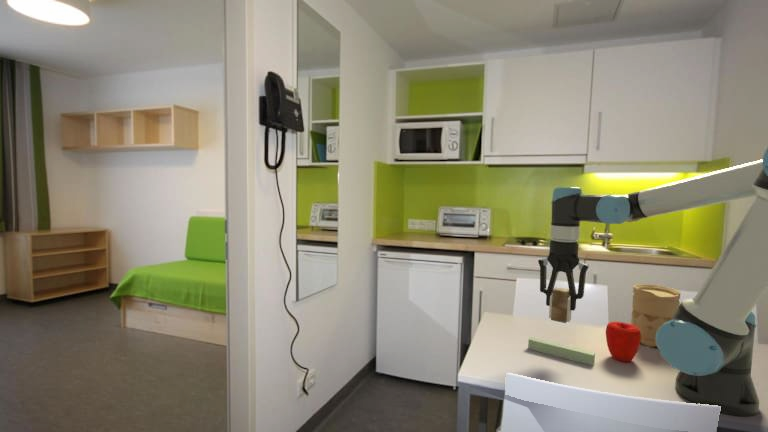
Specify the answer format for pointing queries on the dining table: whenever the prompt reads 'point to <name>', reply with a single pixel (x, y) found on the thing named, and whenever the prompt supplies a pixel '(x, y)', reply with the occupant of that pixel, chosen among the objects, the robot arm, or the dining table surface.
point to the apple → (623, 340)
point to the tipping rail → (562, 351)
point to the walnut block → (559, 304)
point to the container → (653, 309)
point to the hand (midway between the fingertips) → (559, 318)
